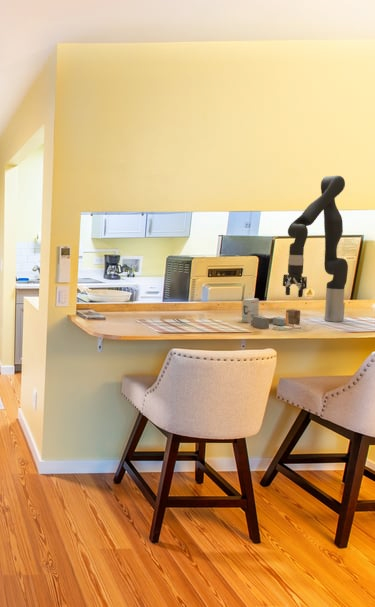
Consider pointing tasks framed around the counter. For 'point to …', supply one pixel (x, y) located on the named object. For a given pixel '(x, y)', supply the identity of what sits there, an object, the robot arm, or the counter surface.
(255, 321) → the gauge bed
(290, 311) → the brown wooden block
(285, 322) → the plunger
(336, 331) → the counter surface
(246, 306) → the ink box
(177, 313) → the counter surface
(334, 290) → the robot arm
